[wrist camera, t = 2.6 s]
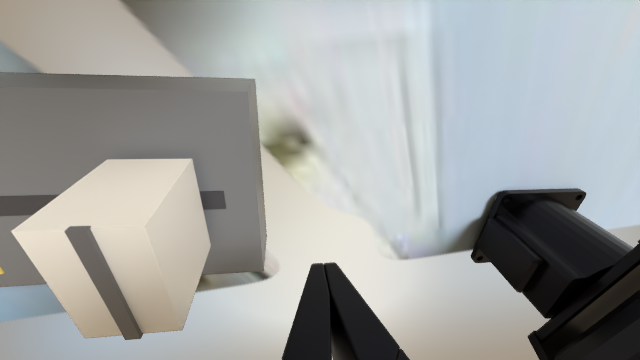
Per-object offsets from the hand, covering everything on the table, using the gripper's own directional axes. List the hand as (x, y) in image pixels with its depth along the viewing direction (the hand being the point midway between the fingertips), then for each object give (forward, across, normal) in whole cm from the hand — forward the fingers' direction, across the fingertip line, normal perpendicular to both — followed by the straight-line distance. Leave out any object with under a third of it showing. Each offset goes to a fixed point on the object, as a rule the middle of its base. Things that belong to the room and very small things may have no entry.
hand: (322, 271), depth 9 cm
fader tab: (+4, +7, 0) cm, 8 cm away
